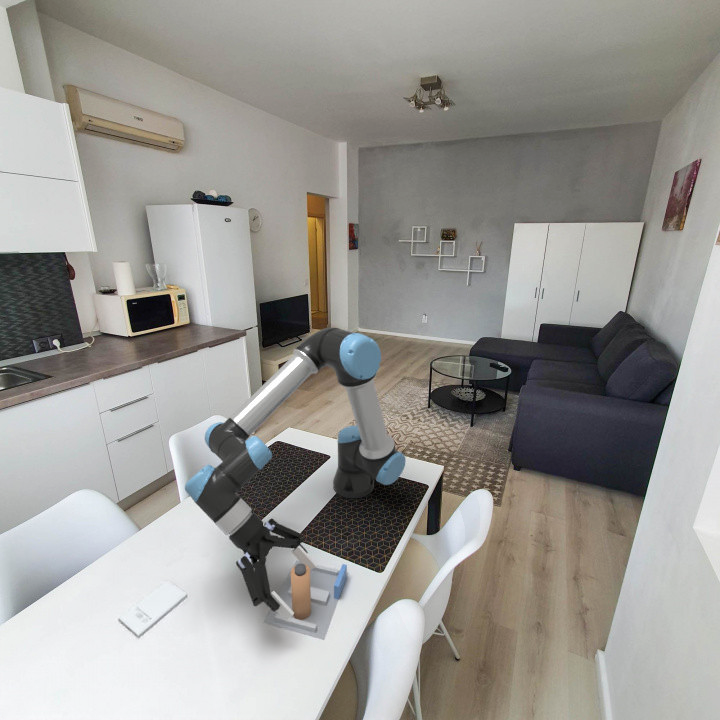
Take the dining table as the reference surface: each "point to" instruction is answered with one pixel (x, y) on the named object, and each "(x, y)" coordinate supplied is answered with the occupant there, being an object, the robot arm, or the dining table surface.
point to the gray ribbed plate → (313, 602)
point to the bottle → (301, 591)
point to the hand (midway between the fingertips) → (302, 590)
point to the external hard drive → (152, 608)
